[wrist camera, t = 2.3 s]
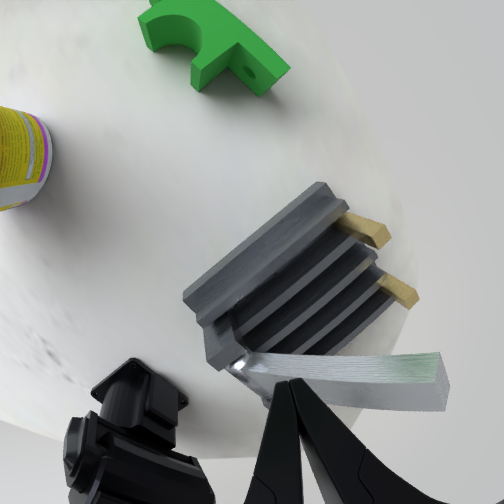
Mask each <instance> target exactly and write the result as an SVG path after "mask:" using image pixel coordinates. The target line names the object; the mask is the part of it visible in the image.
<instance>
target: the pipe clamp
mask: <svg viewBox="0 0 504 504" xmlns="http://www.w3.org/2000/svg"><path fill="white" fill-rule="evenodd" d="M149 2H150V4H151V5H152V7H151V8H150V9H148V10H147V11H145V12H144V13H143V14H141V15H140V16H139V17H137V18H138V21H139V24H140V27H141V30H142V33H143V36H144V39H145V42H146V45H147V47H148V48H149V49H150V50H152V51H153V52H155V51H156V50H158V49H159V48H161V47H164V46H167V45H183V46H186V47H188V48H190V49H191V50H193V51H194V52H195V53H196V55H197V56H196V57H195V58H194V59H193V60H192V61H191V86H193V87H194V88H195V89H196V90H197V91H198V92H199V91H200V90H201V89H202V88H204V87H205V86H206V85H207V84H208V83H209V82H211V81H212V80H213V79H214V78H215V77H217V76H218V75H219V74H220V73H222V72H223V71H224V70H225V69H227V68H229V69H230V70H231V71H232V72H233V73H234V74H235V75H236V76H237V77H238V78H239V79H240V80H241V81H242V82H243V83H244V84H245V85H246V86H247V87H248V88H249V89H250V90H252V91H253V92H254V93H255V94H256V95H257V96H258V97H260V96H261V95H262V94H263V93H265V92H266V91H267V90H268V89H269V88H271V87H272V86H273V85H274V84H275V83H276V82H277V81H278V80H279V79H280V78H281V77H282V76H283V75H284V74H285V73H286V72H287V71H288V70H290V69H291V67H290V66H289V65H288V64H287V63H286V62H285V61H284V60H283V59H282V58H281V57H280V56H279V55H278V54H277V53H276V52H275V51H274V50H273V49H272V48H270V47H269V46H268V45H267V44H266V43H265V42H264V41H263V40H262V39H261V38H260V37H259V36H257V35H256V34H255V33H254V32H253V31H252V30H251V29H250V28H248V27H247V26H246V25H245V24H244V23H243V22H241V21H240V20H239V19H238V18H237V17H235V16H234V15H233V14H232V13H231V12H229V11H228V10H227V9H226V8H224V7H223V6H222V5H220V4H219V3H218V2H217V1H215V0H149Z"/></svg>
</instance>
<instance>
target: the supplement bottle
mask: <svg viewBox="0 0 504 504" xmlns="http://www.w3.org/2000/svg"><path fill="white" fill-rule="evenodd" d="M51 162H52V142H51V138H50V134H49V132H48V129H47V128H46V126H45V125H44V123H43V122H42V121H41V120H40V119H39V118H37V117H36V116H34V115H32V114H28V113H25V112H21V111H18V110H14V109H10V108H6V107H2V106H0V211H4V210H7V209H10V208H14V207H17V206H20V205H22V204H25V203H27V202H28V201H30V200H31V199H32V198H34V197H35V196H36V195H37V193H38V192H39V191H40V190H41V188H42V187H43V185H44V183H45V181H46V179H47V177H48V174H49V171H50V167H51Z"/></svg>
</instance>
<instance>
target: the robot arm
mask: <svg viewBox="0 0 504 504" xmlns="http://www.w3.org/2000/svg"><path fill="white" fill-rule="evenodd" d="M131 363H134V364H136V365H132V364H131ZM96 393H97V394H96ZM91 396H92V397H93V398H95V399H96V400H97V401H99V402H100V403H102V408H101V412H100V416H98V414H97V413H95V412H93V411H91V410H90V411H89V413H88V414H87V415H86V416H85V417H84V418H83V417H81V418H78V417H72V419H71V420H70V423H69V426H68V429H67V432H66V435H65V439H64V450H63V461H64V468H65V476H66V482H67V486H68V487H70V488H71V489H70V492H69V496H68V498H69V502H70V504H215V503H216V501H215V495H214V492H213V490H212V488H211V486H210V485H209V482H208V480H207V478H206V476H205V474H204V472H203V470H202V468H201V466H200V465H199V462H198V460H197V458H195V457H192V456H186V455H183V454H180V453H178V452H175V451H172V450H171V449H173V448H175V447H176V439H175V427H177V426H178V411H180V410H181V409H183V408H184V407H186V406H187V405H188V404H189V400H188V398H187V397H186V396H184V395H183V394H182V393H180V392H179V391H177V389H176V388H174V387H173V386H172V385H170V384H169V383H168V382H166V381H165V380H164V379H163V378H161V377H160V376H159V375H157V374H156V373H154V372H152V371H151V370H150V369H149V368H147V367H146V366H145V365H144V364H143V363H141V362H140V361H139V360H138V359H136V358H130V359H128V360H127V361H126V362H125V363H124V364H122V365H121V366H120V367H119V368H117V369H116V370H115V371H114V372H112V373H111V374H110V375H109V376H108V377H106V378H105V379H104V380H103V381H101V382H100V383H99V384H98V385H96V386H95V387H94V388H93V389H92V390H91ZM181 401H184V402H181ZM299 436H300V438H299ZM300 439H301V442H302V445H303V447H304V450H305V453H306V455H307V458H308V460H309V463H310V466H311V468H312V471H313V473H314V476H315V478H316V481H317V484H318V486H319V489H320V491H321V494H322V496H323V499H324V501H325V504H448V503H444V502H441V501H438V500H435V499H433V498H431V497H429V496H427V495H425V494H424V493H422V492H421V491H419V490H418V489H416V488H415V487H413V486H412V485H411V484H409V483H408V482H406V481H405V480H403V479H402V478H401V477H399V476H398V475H396V474H395V473H394V472H392V471H391V470H390V469H389V468H387V467H386V466H385V465H384V464H383V463H382V462H381V461H380V460H379V459H378V458H377V457H376V456H375V455H374V454H373V453H372V452H371V451H370V450H369V449H366V446H365V445H363V443H362V442H361V441H360V440H359V439H358V438H357V437H356V436H355V435H354V434H353V433H352V432H351V431H350V430H349V429H348V428H347V427H346V425H345V424H344V423H343V422H342V421H341V420H340V419H339V418H338V417H337V416H336V415H335V414H334V413H333V412H332V410H331V409H330V408H329V407H328V406H327V405H326V404H325V403H324V402H323V401H322V400H321V398H320V397H319V396H318V395H317V394H316V393H315V392H314V391H313V390H312V389H311V387H310V386H309V385H308V384H307V383H306V382H305V381H304V380H303V379H302V378H300V377H299V378H294V379H290V380H289V382H288V381H287V380H285V381H280V382H277V383H276V384H275V387H274V391H273V396H272V400H271V404H270V409H269V413H268V417H267V421H266V426H265V430H264V434H263V438H262V442H261V446H260V450H259V454H258V458H257V462H256V465H255V469H254V473H253V474H254V476H253V477H252V480H251V484H250V487H249V490H248V493H247V496H246V499H245V502H244V504H304V497H303V481H302V480H303V479H302V464H301V449H300ZM496 504H504V500H502V501H500V502H498V503H496Z"/></svg>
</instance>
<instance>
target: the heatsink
mask: <svg viewBox="0 0 504 504" xmlns="http://www.w3.org/2000/svg"><path fill="white" fill-rule="evenodd" d="M348 209H349V206H348V205H347V203H346V202H345V200H342V199H338V198H336V197H335V196H334V194H333V193H332V191H331V189H330V188H329V186H328V185H327V183H324V182H316V183H314V184H313V185H312V186H311V187H309V188H308V189H307V190H306V191H305V192H303V193H302V194H301V195H300V196H298V197H297V198H296V199H295V200H293V201H292V202H291V203H290V204H289V205H287V206H286V207H285V208H284V209H282V210H281V211H280V212H279V213H278V214H276V215H275V216H274V217H273V218H271V219H270V220H269V221H268V222H267V223H265V224H264V225H263V226H262V227H260V228H259V229H258V230H257V231H256V232H254V233H253V234H252V235H251V236H250V237H248V238H247V239H246V240H245V241H243V242H242V243H241V244H240V245H239V246H237V247H236V248H235V249H234V250H233V251H231V252H230V253H229V254H228V255H227V256H225V257H224V258H223V259H222V260H221V261H219V262H218V263H217V264H216V265H215V266H213V267H212V268H211V269H210V270H209V271H207V272H206V273H205V274H204V275H203V276H201V277H200V278H199V279H198V280H197V281H195V282H194V283H193V284H192V285H191V286H189V287H188V288H187V289H186V290H185V291H184V292H183V302H184V303H185V304H186V305H187V306H188V307H189V308H190V309H191V310H192V311H193V312H195V313H196V320H197V323H198V324H199V325H200V326H201V327H202V328H203V333H204V343H205V352H206V361H207V362H208V363H209V364H210V365H211V366H213V367H214V368H215V369H216V370H217V371H221V370H222V369H224V368H225V367H226V366H228V365H229V364H231V363H232V362H233V361H235V360H236V359H237V358H239V357H240V356H241V355H243V354H244V353H246V352H247V349H246V347H248V348H249V349H250V350H251V351H252V352H259V353H273V354H290V355H315V356H333V355H334V354H335V353H337V352H338V351H339V350H340V349H342V348H343V347H344V346H345V345H346V344H348V343H349V342H350V341H351V340H352V339H353V338H355V337H356V336H357V335H358V334H359V333H360V332H362V331H363V330H364V329H365V328H366V327H367V326H368V325H370V324H371V323H372V322H373V321H374V320H375V319H376V318H377V317H378V316H379V315H381V314H382V313H383V312H384V311H385V310H386V309H387V308H388V307H389V306H390V305H391V304H392V303H393V302H394V301H395V300H396V301H397V302H398V303H400V304H401V305H403V306H404V307H405V308H407V309H408V310H410V309H411V308H412V306H413V305H414V304H415V303H416V302H417V301H418V300H419V297H418V294H417V292H416V290H415V289H414V288H412V287H410V286H409V285H407V284H405V283H404V282H402V281H400V280H399V279H397V278H395V277H393V276H392V275H390V274H388V273H387V272H385V271H383V270H382V269H380V268H378V267H377V266H376V264H375V262H374V261H375V260H376V259H377V258H378V256H377V255H376V253H375V251H374V250H372V249H370V248H368V247H366V246H365V244H364V243H366V244H368V245H370V246H372V247H374V248H376V249H378V250H379V249H380V248H381V247H382V246H384V245H385V244H386V243H387V242H388V241H389V240H390V239H391V236H390V234H389V232H388V230H387V228H386V226H385V224H382V223H379V222H376V221H373V220H370V219H367V218H364V217H361V216H358V215H354V214H351V213H348V212H346V211H347V210H348ZM363 242H364V243H363ZM261 399H262V402H263V404H264V406H265V407H266V408H268V409H270V404H271V400H272V398H270V399H263V398H261Z"/></svg>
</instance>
